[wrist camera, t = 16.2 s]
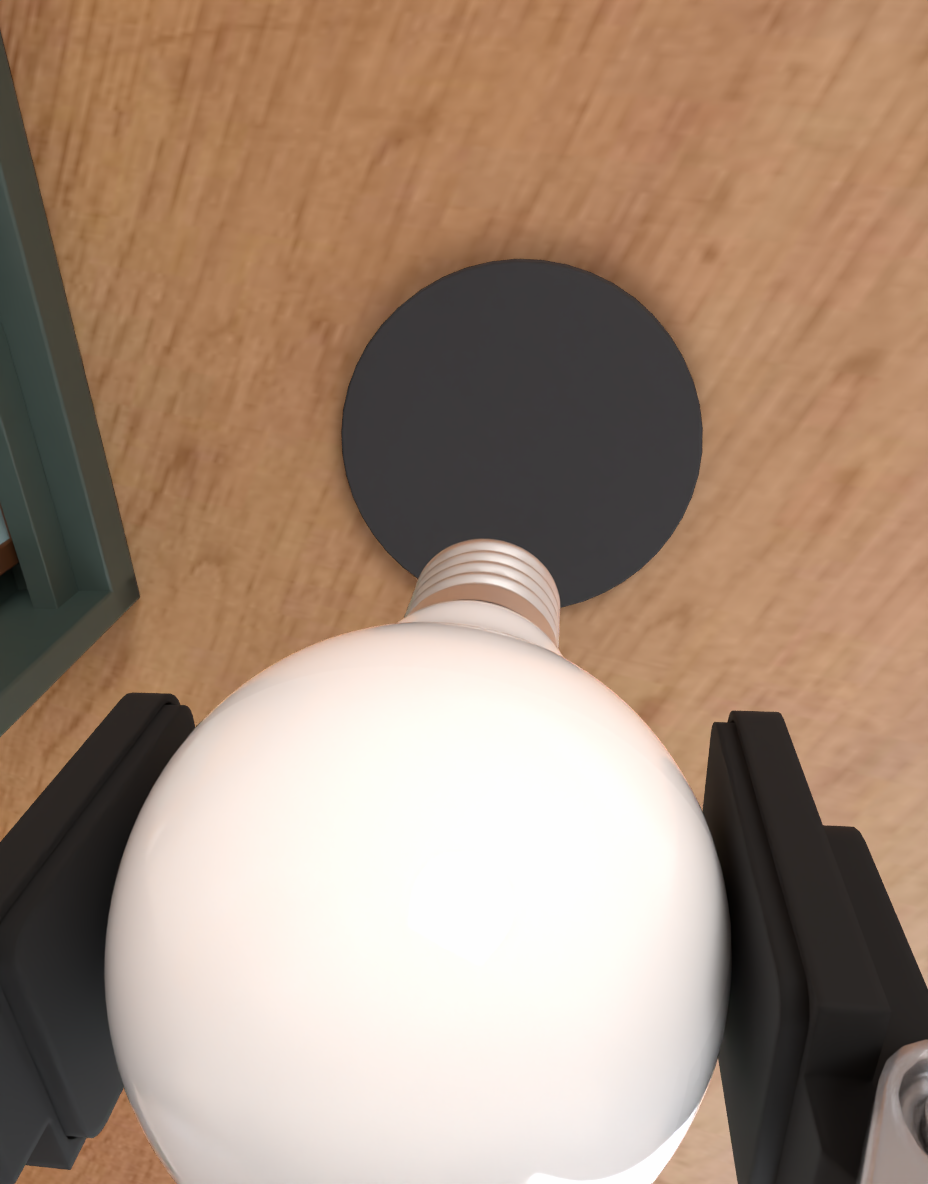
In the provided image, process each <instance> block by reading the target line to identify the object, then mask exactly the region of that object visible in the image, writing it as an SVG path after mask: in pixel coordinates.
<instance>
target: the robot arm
mask: <svg viewBox="0 0 928 1184" xmlns="http://www.w3.org/2000/svg"><path fill="white" fill-rule="evenodd" d="M194 729H195V724H194V720H193V715H192V713H191V710H190V709H189V707H188V706H185V705H180V703H179V700H178V699H177V698H176V697H175V696H174V695H172V694H160V693H129V694H126V695H125V696H124V697H123V698H122V699H121V700H120V701H119V702H118V703H117V705H116V706H115V707H114V708H113V709H112V711H111V712H110V713H109V714H108V715H107V716H106V718H105V719H104V720H103V721H102V722H101V724H100V725H99V726H98V727H97V728H96V729H95V731H94V732H93V733H92V734H91V735H90V737H89V738H88V739H87V740H86V741H85V743H84V744H83V745H82V746H81V747H80V748H79V750H78V751H77V752H76V753H75V754H74V756H73V757H72V758H71V759H70V760H69V761H68V763H67V764H66V765H65V766H64V767H63V769H62V770H61V771H60V772H59V773H58V775H57V776H56V777H55V778H54V779H53V780H52V782H51V783H50V784H49V785H48V786H47V788H46V789H45V790H44V791H43V792H42V793H41V795H40V796H39V797H38V798H37V799H36V801H35V802H34V803H33V804H32V805H31V806H30V808H29V809H28V810H27V811H26V812H25V814H24V815H23V816H22V817H21V818H20V820H19V821H18V822H17V823H16V824H15V825H14V827H13V828H12V829H11V830H10V831H9V833H8V834H7V835H6V836H5V837H4V838H3V840H2V841H1V842H0V1184H14V1183H15V1182H16V1181H17V1179H18V1177H19V1175H20V1173H21V1172H22V1170H23V1168H24V1166H25V1165H29V1166H39V1167H48V1168H58V1169H67V1170H71V1168H72V1166H73V1164H74V1162H75V1160H76V1158H77V1156H78V1154H79V1152H80V1150H81V1148H82V1146H83V1144H84V1142H85V1140H86V1138H94V1137H95V1136H97V1135H98V1134H99V1133H100V1132H101V1131H102V1129H103V1128H104V1126H105V1124H106V1122H107V1121H108V1119H109V1117H110V1115H111V1112H112V1110H113V1108H114V1106H115V1104H116V1102H117V1100H118V1098H119V1096H120V1094H121V1092H122V1090H123V1088H124V1086H123V1083H122V1080H121V1077H120V1074H119V1071H118V1067H117V1063H116V1060H115V1056H114V1052H113V1048H112V1043H111V1038H110V1033H109V1027H108V1020H107V1012H106V1004H105V991H104V951H105V937H106V928H107V920H108V913H109V907H110V902H111V897H112V892H113V887H114V883H115V879H116V876H117V872H118V868H119V865H120V861H121V858H122V855H123V852H124V849H125V846H126V843H127V841H128V838H129V835H130V833H131V830H132V828H133V825H134V823H135V821H136V819H137V816H138V814H139V812H140V810H141V808H142V806H143V804H144V802H145V800H146V798H147V796H148V794H149V792H150V791H151V789H152V787H153V785H154V783H155V782H156V780H157V779H158V777H159V775H160V774H161V772H162V771H163V769H164V767H165V766H166V764H167V763H168V762H169V760H170V759H171V757H172V756H173V755H174V753H175V752H176V751H177V749H178V748H179V746H180V745H181V744H182V743H183V742H184V740H185V739H186V738H187V737H188V736H189V734H190V733H191V732H192V731H193V730H194ZM703 814H704V816H705V819H706V821H707V824H708V826H709V829H710V832H711V834H712V837H713V840H714V843H715V846H716V850H717V853H718V856H719V859H720V863H721V867H722V871H723V876H724V880H725V884H726V890H727V895H728V902H729V908H730V917H731V928H732V954H733V963H732V984H731V994H730V1002H729V1010H728V1016H727V1022H726V1027H725V1032H724V1036H723V1041H722V1045H721V1049H720V1052H719V1056H718V1060H719V1066H720V1072H721V1079H722V1085H723V1092H724V1098H725V1104H726V1111H727V1117H728V1124H729V1130H730V1136H731V1143H732V1149H733V1156H734V1162H735V1168H736V1175H737V1181H738V1184H928V989H927V986H926V984H925V982H924V979H923V977H922V974H921V972H920V970H919V967H918V965H917V963H916V960H915V958H914V956H913V953H912V951H911V948H910V946H909V944H908V941H907V939H906V937H905V934H904V932H903V929H902V927H901V925H900V922H899V920H898V918H897V915H896V913H895V911H894V908H893V906H892V903H891V901H890V899H889V896H888V894H887V892H886V889H885V887H884V884H883V882H882V880H881V877H880V875H879V873H878V870H877V868H876V866H875V863H874V861H873V858H872V856H871V854H870V851H869V849H868V847H867V844H866V842H865V840H864V838H863V837H862V835H861V833H860V832H859V831H858V830H857V829H856V828H855V827H846V826H824V825H822V822H821V819H820V816H819V814H818V811H817V808H816V806H815V803H814V800H813V797H812V795H811V792H810V789H809V787H808V784H807V781H806V778H805V776H804V773H803V770H802V768H801V765H800V762H799V759H798V757H797V754H796V751H795V749H794V746H793V743H792V740H791V738H790V735H789V732H788V730H787V727H786V724H785V721H784V719H783V717H782V715H781V713H779V712H758V711H732V712H730V715H729V719H728V723H726V722H714V723H713V725H712V730H711V738H710V748H709V757H708V766H707V776H706V785H705V794H704V804H703Z"/></svg>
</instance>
